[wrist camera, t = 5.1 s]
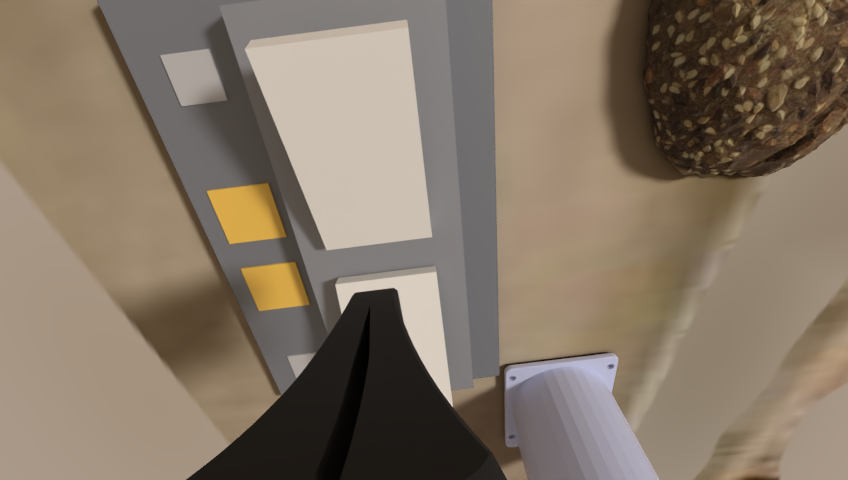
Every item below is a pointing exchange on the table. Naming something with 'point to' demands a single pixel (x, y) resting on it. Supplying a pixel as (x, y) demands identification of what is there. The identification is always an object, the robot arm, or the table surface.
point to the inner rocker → (411, 313)
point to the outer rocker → (350, 129)
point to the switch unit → (277, 182)
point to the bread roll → (745, 82)
